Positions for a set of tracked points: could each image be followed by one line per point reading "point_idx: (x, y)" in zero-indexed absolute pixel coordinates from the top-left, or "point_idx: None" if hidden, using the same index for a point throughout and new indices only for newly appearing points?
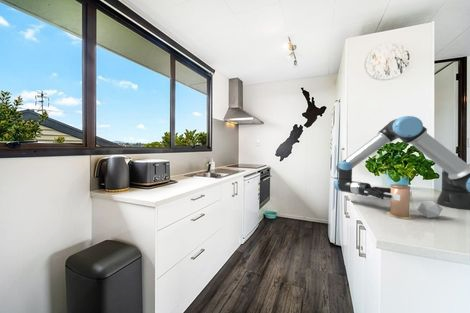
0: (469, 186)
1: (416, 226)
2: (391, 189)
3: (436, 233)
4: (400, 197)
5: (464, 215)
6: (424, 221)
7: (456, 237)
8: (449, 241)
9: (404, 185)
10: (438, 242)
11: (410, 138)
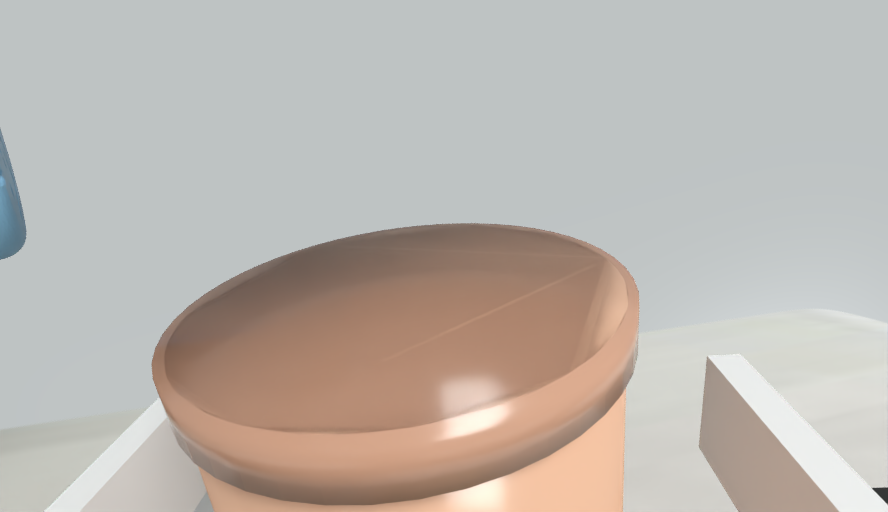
0: (2, 201)
1: (712, 489)
2: (585, 499)
3: (698, 395)
4: (711, 396)
5: (85, 419)
6: None
7: (641, 350)
8: (747, 348)
9: (282, 278)
10: (838, 359)
11: None
